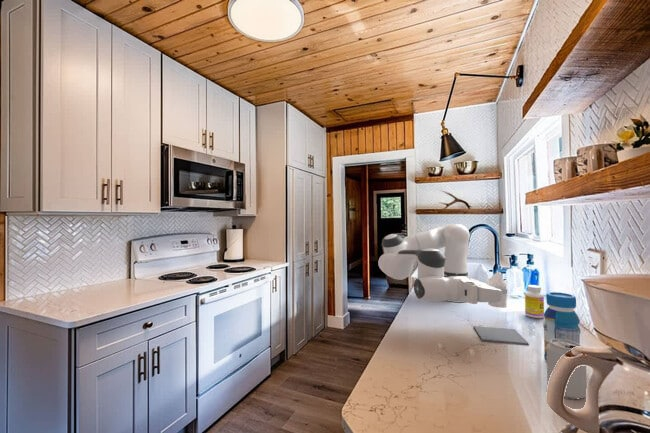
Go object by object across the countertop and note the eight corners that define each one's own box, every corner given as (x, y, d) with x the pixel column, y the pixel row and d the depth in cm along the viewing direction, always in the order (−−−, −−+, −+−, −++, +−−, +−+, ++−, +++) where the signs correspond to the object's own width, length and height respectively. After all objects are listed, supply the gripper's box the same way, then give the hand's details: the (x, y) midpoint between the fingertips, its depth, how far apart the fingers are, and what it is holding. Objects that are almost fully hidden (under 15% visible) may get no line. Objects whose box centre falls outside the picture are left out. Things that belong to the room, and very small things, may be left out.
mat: (473, 327, 116) (473, 326, 116) (514, 330, 113) (514, 329, 113) (482, 340, 104) (482, 339, 104) (528, 344, 100) (528, 343, 100)
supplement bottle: (541, 319, 124) (541, 288, 124) (523, 316, 129) (522, 286, 129) (546, 316, 129) (545, 286, 129) (527, 312, 134) (527, 283, 134)
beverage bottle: (573, 374, 81) (572, 300, 81) (538, 361, 88) (537, 293, 89) (586, 366, 86) (585, 295, 86) (551, 354, 93) (551, 289, 93)
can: (575, 405, 68) (574, 351, 68) (540, 388, 75) (539, 339, 75) (593, 396, 71) (593, 345, 71) (558, 381, 78) (557, 334, 78)
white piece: (484, 271, 110) (494, 270, 112) (484, 304, 110) (494, 302, 112) (500, 274, 104) (510, 272, 107) (501, 308, 104) (510, 306, 107)
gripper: (449, 290, 119) (484, 290, 119) (475, 305, 98) (517, 305, 98) (449, 274, 119) (484, 274, 119) (475, 286, 98) (517, 286, 98)
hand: (499, 288), depth 108 cm, fingers closed on white piece, 6 cm apart
